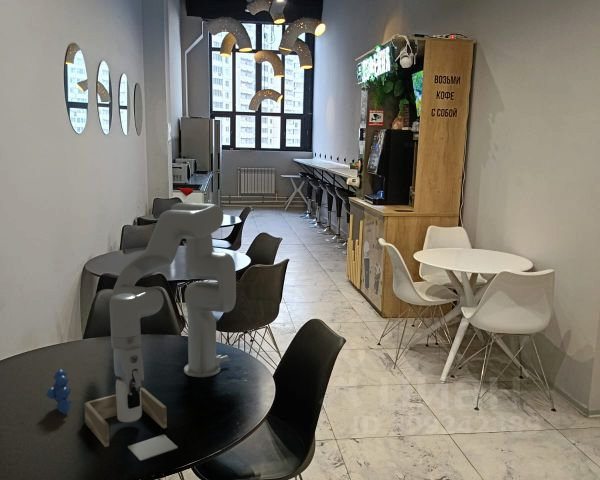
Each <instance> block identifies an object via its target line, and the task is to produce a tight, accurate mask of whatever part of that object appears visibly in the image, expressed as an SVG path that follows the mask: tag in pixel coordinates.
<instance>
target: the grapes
mask: <svg viewBox="0 0 600 480" xmlns="http://www.w3.org/2000/svg"><path fill="white" fill-rule="evenodd" d="M67 374H68V373H66V372H65V370H63V369H58V370H57V371H56V373H54V376H53V377H52V378H53V379H54V380H55V382H54V384H53V387H50V388H48V390H47V391H46V394H45V395H46V396H47V398H49V399H51V400H55V402H56V403H57V404H56V408H57V410H58V411H59V412H60V413H61V414H63V415H65V414H67V413H68V412H69V410H70V409H71V403H72V401H71V400H70V398H69V395H70V394H71V390H72V389H71V388H70V386H68V383H69V381H70V380H69V379H68V377H67Z"/></svg>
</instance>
